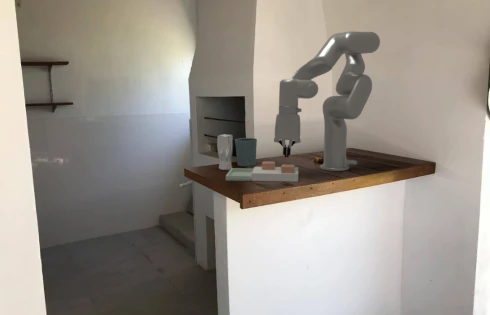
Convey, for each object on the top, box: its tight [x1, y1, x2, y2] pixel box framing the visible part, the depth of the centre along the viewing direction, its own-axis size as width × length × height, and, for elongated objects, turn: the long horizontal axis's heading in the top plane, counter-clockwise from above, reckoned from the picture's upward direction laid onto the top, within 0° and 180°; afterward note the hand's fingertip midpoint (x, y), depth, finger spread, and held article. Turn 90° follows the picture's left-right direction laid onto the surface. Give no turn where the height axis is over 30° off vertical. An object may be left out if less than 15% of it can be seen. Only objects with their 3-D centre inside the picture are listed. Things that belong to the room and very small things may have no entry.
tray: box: [225, 167, 254, 182], centre depth 170 cm, size 10×15×2 cm, turn 173°
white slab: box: [251, 166, 299, 183], centre depth 168 cm, size 18×13×3 cm
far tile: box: [261, 160, 276, 170], centre depth 171 cm, size 5×5×2 cm
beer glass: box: [216, 134, 234, 171], centre depth 186 cm, size 7×7×15 cm
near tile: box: [280, 163, 295, 173], centre depth 164 cm, size 5×5×2 cm
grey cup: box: [234, 137, 258, 167], centre depth 195 cm, size 10×10×12 cm
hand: (286, 156), depth 169 cm, fingers closed
